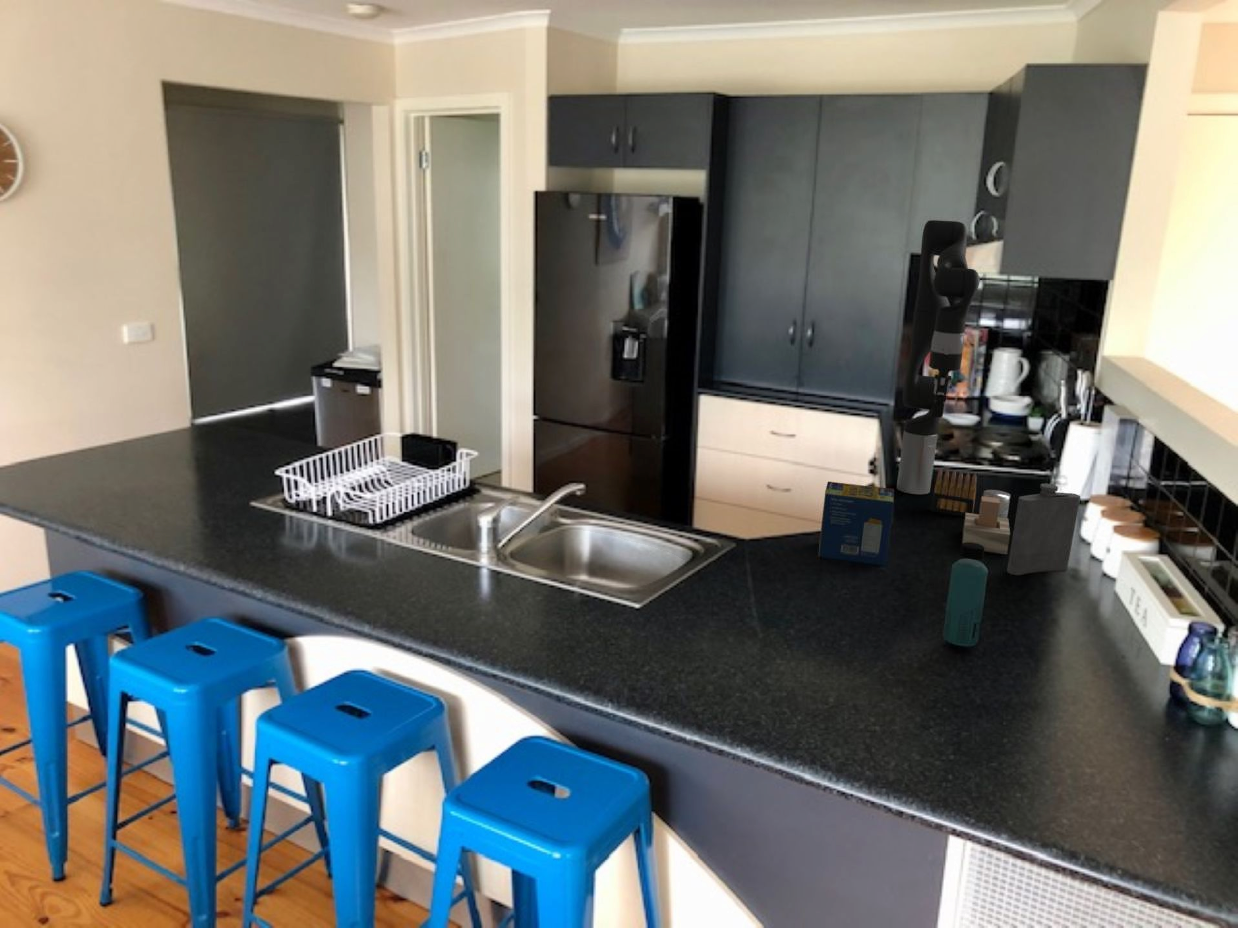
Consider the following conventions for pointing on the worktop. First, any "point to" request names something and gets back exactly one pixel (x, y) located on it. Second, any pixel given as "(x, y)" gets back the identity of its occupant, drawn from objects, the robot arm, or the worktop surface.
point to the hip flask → (1043, 531)
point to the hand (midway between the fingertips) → (938, 413)
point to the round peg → (1003, 499)
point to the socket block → (987, 534)
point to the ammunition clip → (957, 498)
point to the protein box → (856, 523)
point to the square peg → (988, 512)
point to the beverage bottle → (966, 597)
